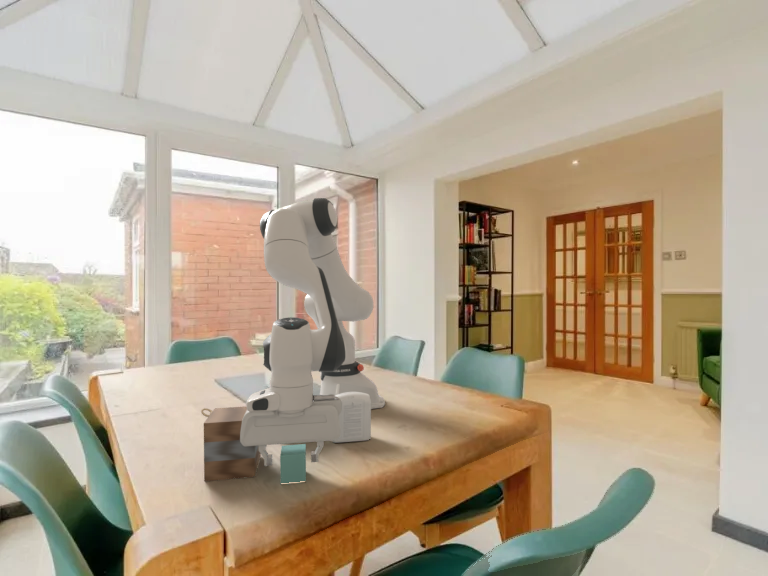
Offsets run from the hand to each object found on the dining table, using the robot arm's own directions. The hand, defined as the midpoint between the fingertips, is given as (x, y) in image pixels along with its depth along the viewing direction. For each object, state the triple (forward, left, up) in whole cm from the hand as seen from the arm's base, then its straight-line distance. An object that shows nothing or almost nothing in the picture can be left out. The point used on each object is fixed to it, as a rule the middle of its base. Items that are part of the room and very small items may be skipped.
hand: (291, 462), depth 84 cm
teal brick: (0, 0, -3) cm, 3 cm away
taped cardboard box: (+13, -7, -3) cm, 15 cm away
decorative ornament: (+22, -35, -4) cm, 41 cm away
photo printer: (-14, -18, -3) cm, 23 cm away
